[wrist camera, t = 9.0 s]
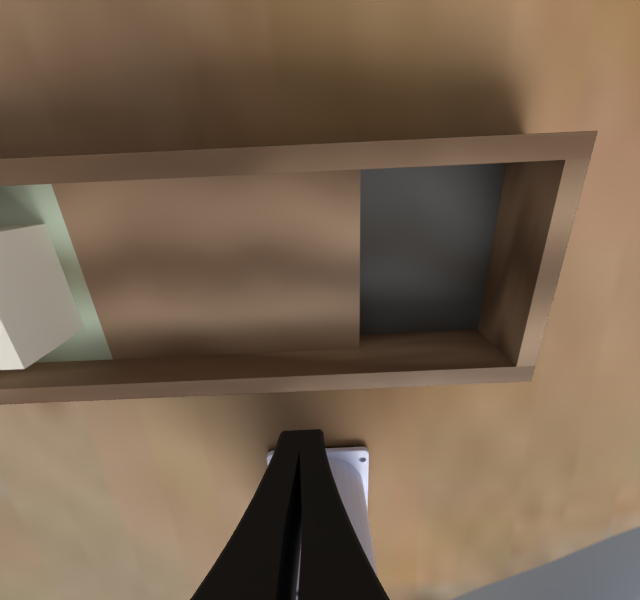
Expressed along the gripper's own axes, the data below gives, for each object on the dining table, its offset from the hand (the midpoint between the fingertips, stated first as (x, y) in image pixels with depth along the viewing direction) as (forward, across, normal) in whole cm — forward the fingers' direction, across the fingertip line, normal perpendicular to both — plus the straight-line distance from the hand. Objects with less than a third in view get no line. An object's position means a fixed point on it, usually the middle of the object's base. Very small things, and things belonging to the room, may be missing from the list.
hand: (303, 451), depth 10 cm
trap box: (+10, +4, -4) cm, 12 cm away
